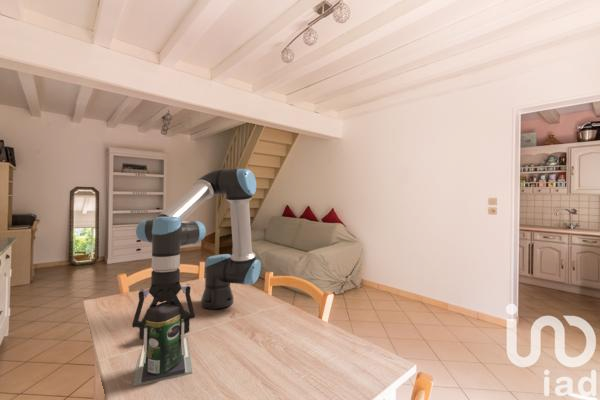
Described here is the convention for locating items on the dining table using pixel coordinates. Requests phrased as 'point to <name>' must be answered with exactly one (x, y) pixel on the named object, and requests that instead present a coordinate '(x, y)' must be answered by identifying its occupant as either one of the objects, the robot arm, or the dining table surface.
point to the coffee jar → (163, 338)
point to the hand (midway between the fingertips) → (164, 345)
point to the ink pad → (174, 371)
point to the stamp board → (188, 368)
